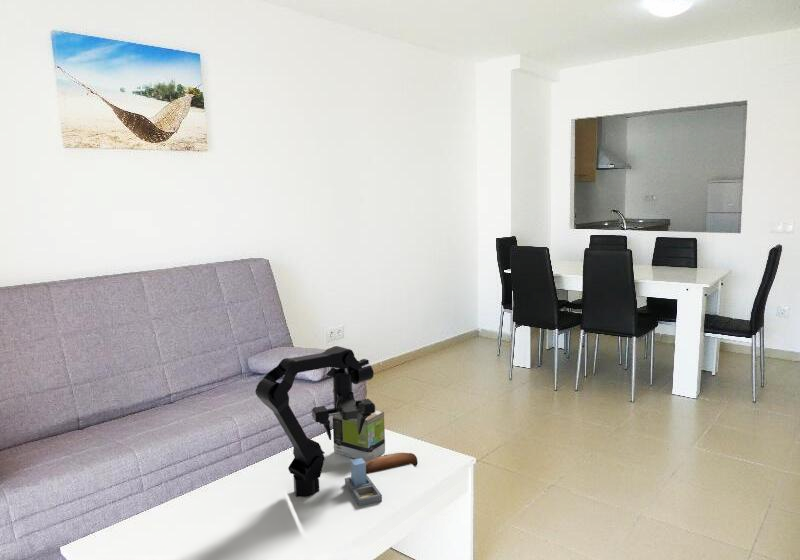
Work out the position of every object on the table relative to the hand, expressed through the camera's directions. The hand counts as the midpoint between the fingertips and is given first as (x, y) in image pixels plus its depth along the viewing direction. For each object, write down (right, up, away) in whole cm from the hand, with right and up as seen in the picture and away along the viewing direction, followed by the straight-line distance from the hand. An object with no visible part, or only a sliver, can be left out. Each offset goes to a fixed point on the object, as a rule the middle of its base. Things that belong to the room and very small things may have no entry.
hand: (344, 436), depth 177 cm
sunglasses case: (+13, -12, +9) cm, 20 cm away
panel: (+6, -15, -10) cm, 19 cm away
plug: (+5, -13, -7) cm, 15 cm away
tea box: (+3, -11, +18) cm, 22 cm away
